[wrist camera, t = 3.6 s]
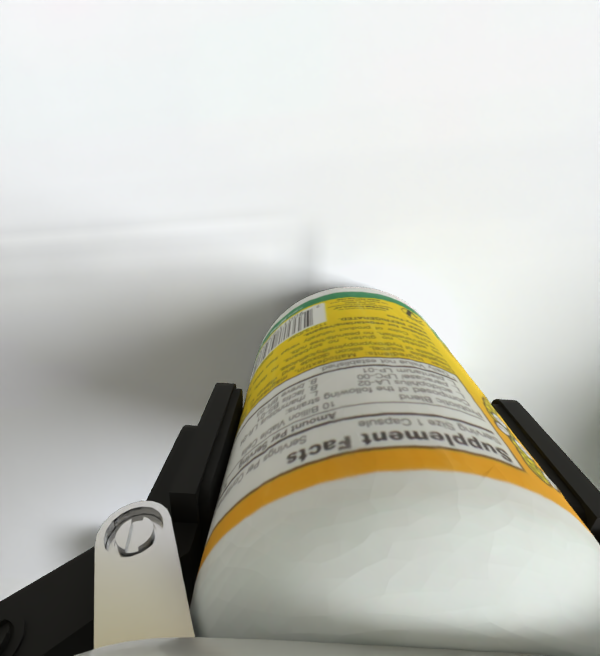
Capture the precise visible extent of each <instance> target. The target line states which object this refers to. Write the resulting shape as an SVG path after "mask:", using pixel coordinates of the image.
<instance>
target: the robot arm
mask: <svg viewBox="0 0 600 656" xmlns="http://www.w3.org/2000/svg"><path fill="white" fill-rule="evenodd" d="M491 405H492V406H493V408H494V409H495V411H496V412H497V413H498V414H499V415H500V416H501V418H502V419H503V420H504V422H505V423H506V424H507V426H508V427H509V428H510V430H511V431H512V432H513V433H514V435H515V436H516V437H517V439H518V440H519V441H520V442H521V444H522V445H523V446H524V447H525V449H526V450H527V451H528V452H529V454H530V455H531V456H532V457H533V458H534V460H535V461H536V462H537V463H538V465H539V466H540V467H541V469H542V470H543V471H544V473H545V474H546V475H547V477H548V478H549V479H550V480H551V481H552V482H553V483H554V484H555V485H556V486H557V488H558V489H559V490H560V492H561V493H562V495H563V496H564V498H565V500H566V501H567V502H568V504H569V505H570V506H571V507H572V509H573V510H574V511H575V513H576V514H577V515H578V516H579V518H580V519H581V520H582V522H583V523H584V524H585V525H586V527H587V528H588V529H589V531H590V532H591V533H592V534H593V536H594V537H595V539H596V540H597V542H598V543H599V545H600V492H599V491H598V489H597V488H596V487H595V486H594V485H593V484H592V483H591V482H590V481H589V479H588V478H587V477H586V476H585V475H584V474H583V473H582V472H581V471H580V469H579V468H578V467H577V466H576V465H575V464H574V463H573V462H572V461H571V460H570V458H569V457H568V456H567V455H566V454H565V453H564V452H563V451H562V450H561V448H560V447H559V446H558V445H557V444H556V443H555V442H554V441H553V440H552V439H551V437H550V436H549V435H548V434H547V433H546V432H545V431H544V430H543V429H542V427H541V426H540V425H539V424H538V423H537V422H536V421H535V420H534V419H533V418H532V416H531V415H530V414H529V413H528V412H527V411H526V410H525V409H524V408H523V406H522V405H521V404H520V403H519V402H517V401H515V400H501V399H496V400H494V401H493V402H492V404H491ZM242 411H243V396H242V389H236V384H230V383H216V385H215V387H214V390H213V392H212V394H211V396H210V399H209V401H208V403H207V406H206V408H205V410H204V413H203V415H202V417H201V419H200V422H199V424H198V426H192V425H185V426H184V427H183V428H182V430H181V431H180V433H179V435H178V437H177V439H176V441H175V443H174V445H173V447H172V450H171V452H170V454H169V456H168V458H167V460H166V462H165V464H164V466H163V468H162V470H161V472H160V474H159V476H158V478H157V480H156V482H155V484H154V486H153V488H152V490H151V492H150V494H149V496H148V498H147V500H146V501H139V502H135V503H131V504H129V505H126V506H124V507H122V508H120V509H119V510H117V511H116V512H114V513H113V514H112V515H110V516H109V518H108V519H107V520H106V521H105V522H104V523H103V524H102V526H101V528H100V529H99V531H98V533H97V536H96V541H95V546H94V547H93V548H91V549H89V550H87V551H86V552H84V553H82V554H81V555H79V556H77V557H76V558H74V559H72V560H70V561H69V562H67V563H65V564H64V565H62V566H60V567H58V568H57V569H55V570H53V571H52V572H50V573H48V574H47V575H45V576H43V577H41V578H40V579H38V580H36V581H35V582H33V583H31V584H30V585H28V586H26V587H24V588H23V589H21V590H19V591H18V592H16V593H14V594H12V595H11V596H9V597H7V598H6V599H4V600H2V601H1V602H0V656H550V655H534V654H518V653H501V652H484V651H468V650H451V649H433V648H416V647H399V646H381V645H362V644H343V643H324V642H305V641H287V640H266V639H235V638H205V637H195V635H194V630H193V625H192V620H191V615H190V610H189V609H190V606H191V601H192V596H193V591H194V586H195V582H196V578H197V574H198V570H199V567H200V563H201V559H202V555H203V552H204V548H205V544H206V540H207V537H208V533H209V529H210V526H211V522H212V519H213V515H214V511H215V508H216V504H217V501H218V497H219V493H220V490H221V486H222V483H223V479H224V476H225V472H226V469H227V465H228V462H229V458H230V454H231V450H232V447H233V443H234V440H235V437H236V433H237V429H238V426H239V422H240V418H241V414H242Z"/></svg>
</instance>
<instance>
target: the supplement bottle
mask: <svg viewBox="0 0 600 656" xmlns="http://www.w3.org/2000/svg"><path fill="white" fill-rule="evenodd" d="M190 615H191V620H192V625H193V630H194V635H195V637H205V638H235V639H266V640H287V641H305V642H324V643H343V644H362V645H381V646H399V647H416V648H433V649H451V650H468V651H484V652H501V653H518V654H534V655H550V656H600V545H599V543H598V542H597V540H596V539H595V537H594V536H593V534H592V533H591V532H590V531H589V529H588V528H587V527H586V525H585V524H584V523H583V522H582V520H581V519H580V518H579V516H578V515H577V514H576V513H575V511H574V510H573V509H572V507H571V506H570V505H569V504H568V502H567V501H566V500H565V498H564V496H563V495H562V493H561V492H560V490H559V489H558V488H557V486H556V485H555V484H554V483H553V482H552V481H551V480H550V479H549V478H548V477H547V475H546V474H545V473H544V471H543V470H542V469H541V467H540V466H539V465H538V463H537V462H536V461H535V460H534V458H533V457H532V456H531V455H530V454H529V452H528V451H527V450H526V449H525V447H524V446H523V445H522V444H521V442H520V441H519V440H518V439H517V437H516V436H515V435H514V433H513V432H512V431H511V430H510V428H509V427H508V426H507V424H506V423H505V422H504V420H503V419H502V418H501V416H500V415H499V414H498V413H497V412H496V411H495V409H494V408H493V406H492V405H491V404H490V402H489V401H488V399H487V398H486V397H485V395H484V394H483V393H482V392H481V390H480V389H479V388H478V386H477V385H476V384H475V383H474V381H473V380H472V379H471V378H470V377H469V375H468V374H467V372H466V371H465V370H464V369H463V367H462V366H461V365H460V364H459V362H458V361H457V360H456V359H455V357H454V356H453V355H452V353H451V352H450V351H449V349H448V348H447V347H446V345H445V344H444V343H443V341H442V340H441V339H440V338H439V337H438V335H437V334H436V333H435V332H434V330H433V329H432V328H431V327H430V326H429V325H428V324H427V322H426V321H425V320H424V319H423V318H422V316H421V315H420V314H419V313H418V312H417V311H416V310H415V309H414V308H413V307H411V306H410V305H409V304H408V303H406V302H405V301H403V300H402V299H400V298H398V297H396V296H394V295H392V294H389V293H387V292H383V291H380V290H376V289H371V288H364V287H340V288H333V289H328V290H325V291H321V292H318V293H316V294H313V295H310V296H308V297H306V298H304V299H302V300H300V301H299V302H297V303H295V304H294V305H292V306H291V307H290V308H289V309H287V310H286V311H285V312H284V313H283V314H282V315H281V316H279V317H278V319H277V320H276V321H275V322H274V323H273V325H272V326H271V327H270V329H269V330H268V332H267V334H266V335H265V337H264V339H263V341H262V343H261V346H260V348H259V351H258V354H257V357H256V360H255V364H254V368H253V371H252V375H251V379H250V383H249V387H248V391H247V395H246V399H245V403H244V407H243V411H242V414H241V418H240V422H239V426H238V429H237V433H236V437H235V440H234V443H233V447H232V450H231V454H230V458H229V462H228V465H227V469H226V472H225V476H224V479H223V483H222V486H221V490H220V493H219V497H218V501H217V504H216V508H215V511H214V515H213V519H212V522H211V526H210V529H209V533H208V537H207V540H206V544H205V548H204V552H203V555H202V559H201V563H200V567H199V570H198V574H197V578H196V582H195V586H194V591H193V596H192V601H191V606H190Z"/></svg>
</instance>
